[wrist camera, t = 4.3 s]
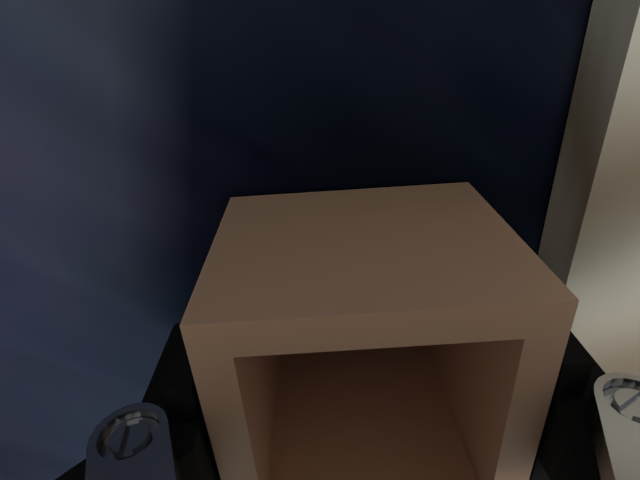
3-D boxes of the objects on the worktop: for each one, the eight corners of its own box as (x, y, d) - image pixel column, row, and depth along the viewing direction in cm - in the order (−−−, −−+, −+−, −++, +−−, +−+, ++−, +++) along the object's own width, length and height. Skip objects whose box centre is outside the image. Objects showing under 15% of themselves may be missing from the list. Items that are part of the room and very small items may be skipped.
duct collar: (448, 359, 14) (515, 526, 9) (259, 372, 14) (238, 544, 9) (468, 182, 11) (578, 300, 6) (230, 197, 11) (179, 325, 6)
